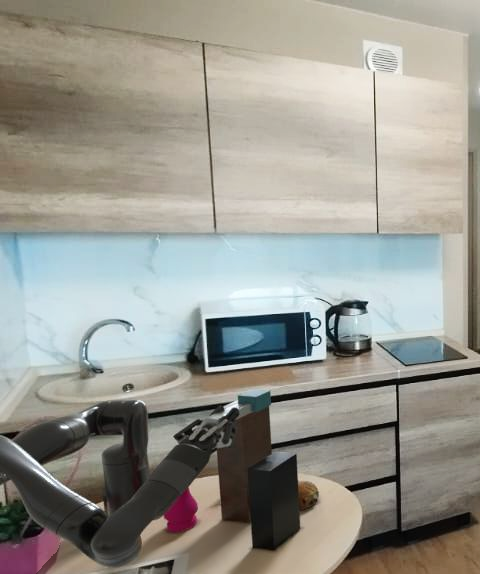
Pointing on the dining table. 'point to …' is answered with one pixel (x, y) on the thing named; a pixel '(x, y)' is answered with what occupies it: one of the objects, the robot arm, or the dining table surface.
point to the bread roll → (307, 494)
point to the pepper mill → (182, 513)
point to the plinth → (242, 463)
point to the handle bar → (243, 406)
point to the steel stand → (274, 500)
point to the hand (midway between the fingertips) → (229, 409)
